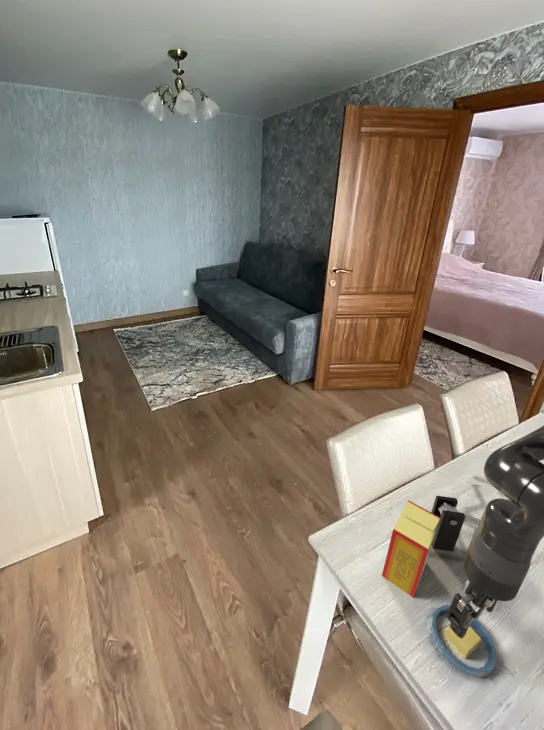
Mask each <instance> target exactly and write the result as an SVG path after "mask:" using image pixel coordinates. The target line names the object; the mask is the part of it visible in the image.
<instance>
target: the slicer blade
mask: <svg viewBox="0 0 544 730" xmlns="http://www.w3.org/2000/svg"><path fill="white" fill-rule="evenodd" d="M442 510H445V511H452V512H459V513H462V511H458V509H457V506H456V507H455V506H453V505H450V504H448V503H445V502H443V504H442V505H441V506H440V507H439V511H440V514H441V513H442ZM464 515H465V520H464V522H466V523H469V524H472V525H475V526H477V527H478V526H479V523H480V521H481V518H477V517H475V516H471V515H468V514H466V513H464Z"/></svg>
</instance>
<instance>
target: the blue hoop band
mask: <svg viewBox="0 0 544 730" xmlns="http://www.w3.org/2000/svg"><path fill="white" fill-rule="evenodd" d="M450 606H451V604H450V605H449V604H446V605H442V606H438V607H437V608H436V610H435V611H434V612H433V613H432V616H431V618H430V629H429V630H430V632H431V636H432V640H433V642H434V645H435V646H436V648H437V649H438V651H439V653H440V654H441V656H442V657H443V658H444V659H445V660H446V661H447V662H449V664H450V666H452V667H453V668H455V669H456V670H458V671H460V672H461V673H462V674H465V675H466V676H470V677H474V678H479V679H481V678H484V677H486V676H490V675H491V673H492V672H493V669H494V668H495V666H496V664H497V662H498V657H497V655H498V654H497V648H496V645H495V643H494V640H493V637H492V636H491V634H490V633H489V632H488V630H487V629H486V627H485V626H484V624H483V623H482V622H481V621H480V620H479V619H474V620H473V621H472V622H471V624H470V627H471V628H472V629H473V630H474V631H475V632H476V634H477V635H478V636H479V637H480V638H481V641H483V644H484V647H485V649H486V657H487V658H486V659H487V660H486V662H485V664H484V666H480V667H473V666H468V665H467V664H465V663H463V662H462V661H460V660H459V659H457V658H456V657H455V656H454V655H453V654H452V652H450V651H449V650H448V648H446V646H445V644H444V643H443V641H442V640H441V638H440V637H439V636H440V635H439V633H438V623H439V621H440V620H441V619H442V618H446V616H447V613H448V611H449V608H450Z"/></svg>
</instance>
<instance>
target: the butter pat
mask: <svg viewBox="0 0 544 730" xmlns="http://www.w3.org/2000/svg"><path fill="white" fill-rule="evenodd" d="M443 636H444V637H445V639H446V640H447V641H448V642H449V643H450V644H451V645H452V647H454V649H455V650H456V651H457V652H458V653H459V654H460V655H461V657H462V658H463V659H464V660H466V659H467V658H468V657H469V656H470V655H471V654H472V653H473V652H474V651H475V650H476V649H478V648H479V645H480V643H481V642H482V638H481V637H480V636H479V634H478V633H477V631H476V630H475V629H474V628H473V627H471V626H470V627H469V628H468V629H467V632H466V634H465V636H464V637H463V638H462V639H461V638H459V637H458V636H457V635H456V634H455V633H454V632H453V631H452V629H451V628H450V624H449V625H448V626H447V627H446V629H445V631H444V635H443Z"/></svg>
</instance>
